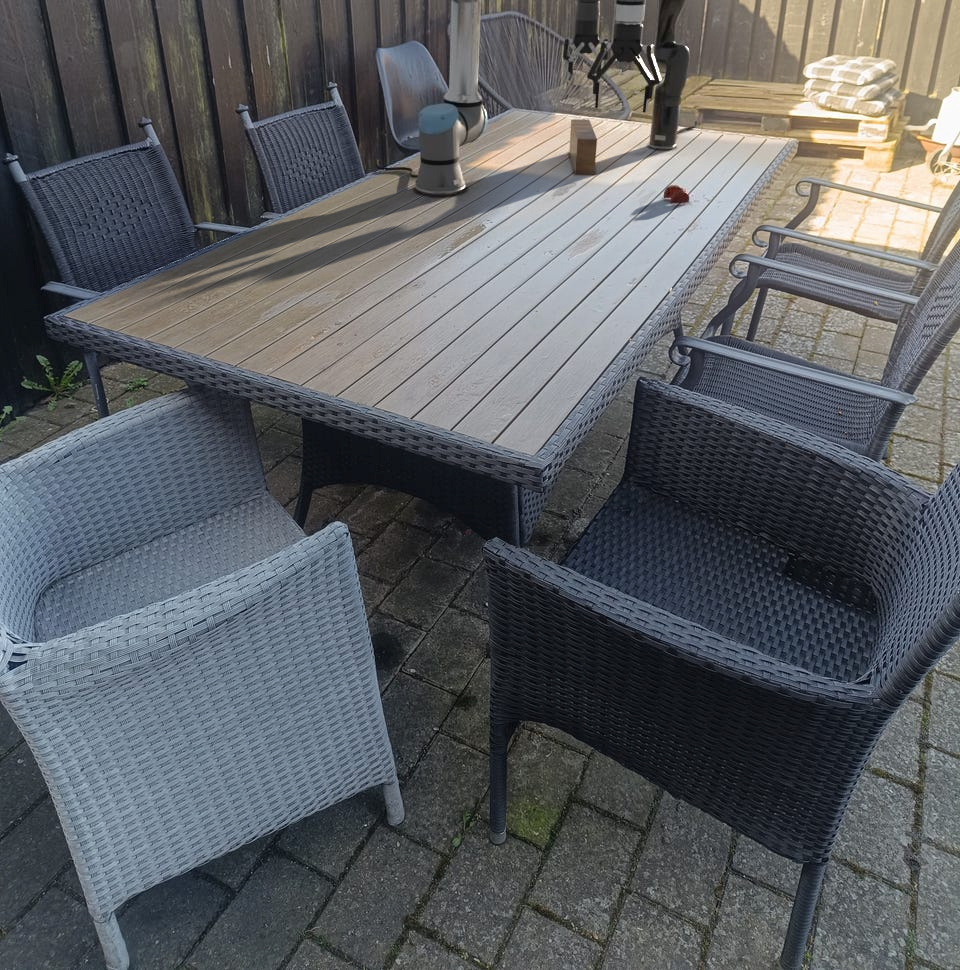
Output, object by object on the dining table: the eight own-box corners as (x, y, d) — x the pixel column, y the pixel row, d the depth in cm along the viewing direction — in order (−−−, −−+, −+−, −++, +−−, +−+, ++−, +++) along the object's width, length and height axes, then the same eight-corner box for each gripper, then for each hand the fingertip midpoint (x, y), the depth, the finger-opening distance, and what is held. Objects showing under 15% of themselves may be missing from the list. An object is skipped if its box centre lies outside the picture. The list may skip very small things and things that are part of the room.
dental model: (680, 181, 250) (692, 189, 244) (678, 195, 253) (690, 203, 247) (662, 183, 249) (674, 191, 243) (661, 197, 252) (672, 206, 246)
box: (594, 174, 272) (597, 139, 266) (575, 174, 272) (577, 139, 266) (586, 152, 294) (589, 119, 288) (569, 152, 294) (571, 119, 288)
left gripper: (679, 23, 219) (668, 110, 232) (588, 18, 227) (582, 102, 240) (672, 27, 214) (662, 116, 226) (579, 21, 222) (574, 108, 234)
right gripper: (608, 16, 269) (604, 71, 278) (564, 16, 269) (561, 71, 279) (611, 19, 263) (607, 76, 272) (565, 19, 263) (563, 76, 273)
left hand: (621, 109), depth 233 cm, fingers open, 13 cm apart
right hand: (584, 73), depth 275 cm, fingers open, 8 cm apart
